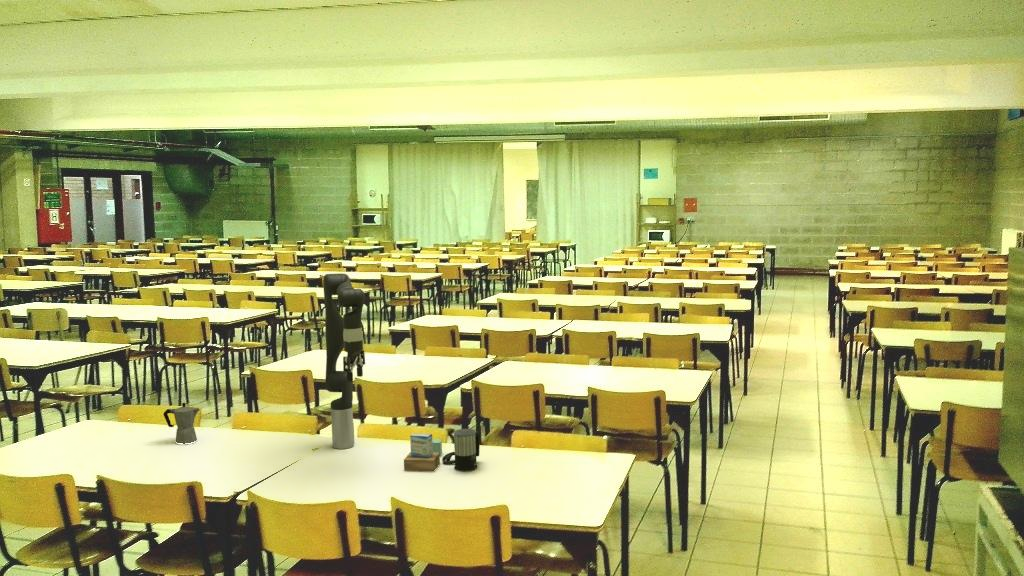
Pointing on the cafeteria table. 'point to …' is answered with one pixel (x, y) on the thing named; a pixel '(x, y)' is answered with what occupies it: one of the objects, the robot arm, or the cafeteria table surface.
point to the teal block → (437, 446)
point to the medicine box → (421, 445)
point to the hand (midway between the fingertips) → (355, 378)
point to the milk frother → (464, 450)
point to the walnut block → (421, 462)
